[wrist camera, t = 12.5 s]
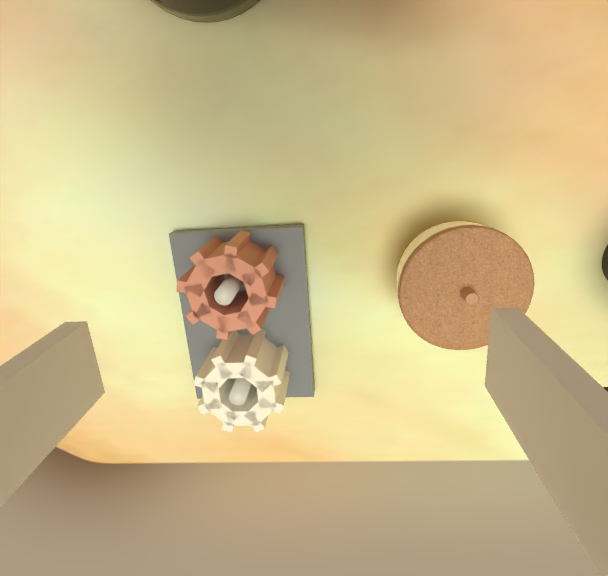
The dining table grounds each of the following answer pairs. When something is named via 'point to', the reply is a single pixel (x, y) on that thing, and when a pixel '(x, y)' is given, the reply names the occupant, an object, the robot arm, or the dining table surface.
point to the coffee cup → (605, 263)
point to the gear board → (241, 343)
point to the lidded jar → (461, 282)
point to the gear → (243, 265)
